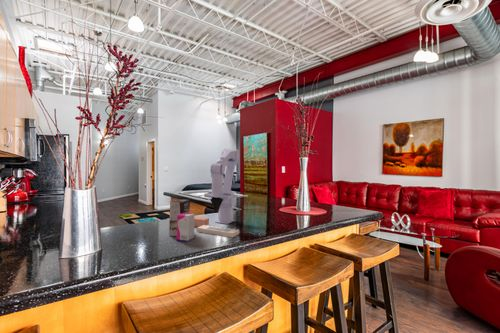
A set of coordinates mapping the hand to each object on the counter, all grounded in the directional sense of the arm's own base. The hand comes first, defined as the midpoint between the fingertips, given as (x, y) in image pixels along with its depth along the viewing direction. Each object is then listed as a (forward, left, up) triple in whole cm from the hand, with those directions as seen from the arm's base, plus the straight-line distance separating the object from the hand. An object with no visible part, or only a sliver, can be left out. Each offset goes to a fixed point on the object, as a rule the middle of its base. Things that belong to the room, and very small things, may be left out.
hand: (216, 212), depth 137 cm
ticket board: (+7, +5, -9) cm, 12 cm away
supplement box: (+23, -2, -9) cm, 25 cm away
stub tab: (+1, -12, -8) cm, 14 cm away
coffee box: (+17, -10, -9) cm, 22 cm away
